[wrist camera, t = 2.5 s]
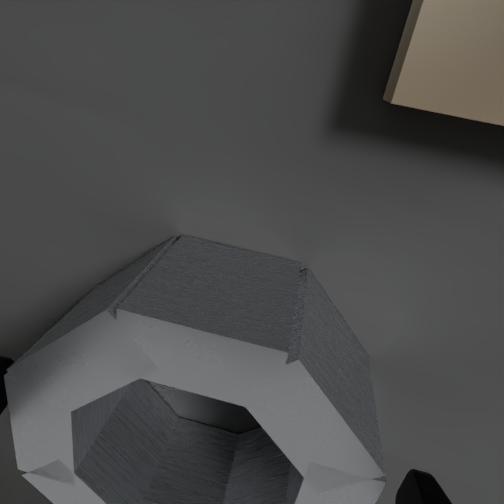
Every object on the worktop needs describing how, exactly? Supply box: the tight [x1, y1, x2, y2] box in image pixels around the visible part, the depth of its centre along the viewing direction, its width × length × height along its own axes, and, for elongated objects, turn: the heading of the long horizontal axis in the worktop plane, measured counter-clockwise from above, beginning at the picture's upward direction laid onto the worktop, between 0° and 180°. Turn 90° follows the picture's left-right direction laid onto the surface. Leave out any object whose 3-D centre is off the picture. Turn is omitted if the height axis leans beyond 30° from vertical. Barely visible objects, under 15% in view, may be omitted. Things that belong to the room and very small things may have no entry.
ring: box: [4, 235, 386, 504], centre depth 9 cm, size 7×7×3 cm
